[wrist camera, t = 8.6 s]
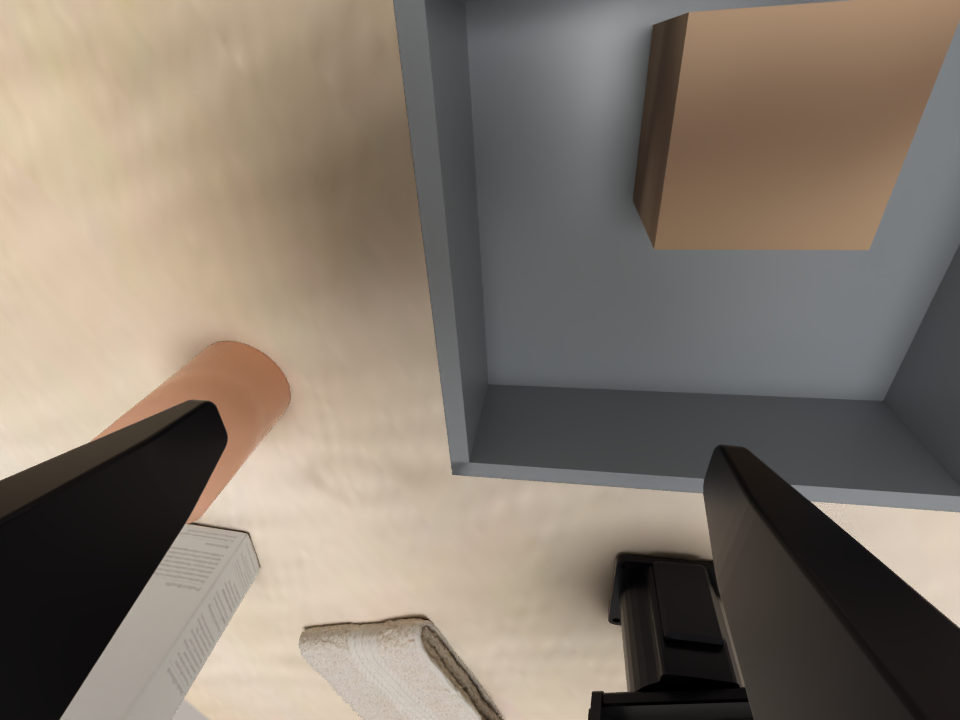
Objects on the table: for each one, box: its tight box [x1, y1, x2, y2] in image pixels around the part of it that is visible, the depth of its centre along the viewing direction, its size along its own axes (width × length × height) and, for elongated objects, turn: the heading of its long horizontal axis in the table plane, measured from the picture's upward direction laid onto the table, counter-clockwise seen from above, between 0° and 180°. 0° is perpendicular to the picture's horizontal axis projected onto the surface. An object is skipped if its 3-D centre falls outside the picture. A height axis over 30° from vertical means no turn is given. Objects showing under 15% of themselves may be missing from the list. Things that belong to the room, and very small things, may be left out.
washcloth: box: [299, 618, 502, 720], centre depth 39 cm, size 12×18×3 cm, turn 24°
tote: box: [393, 0, 960, 512], centre depth 15 cm, size 15×17×6 cm
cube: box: [633, 0, 960, 250], centre depth 13 cm, size 5×5×5 cm
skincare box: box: [60, 524, 259, 720], centre depth 28 cm, size 6×4×12 cm
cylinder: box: [91, 341, 291, 524], centre depth 22 cm, size 5×5×7 cm
